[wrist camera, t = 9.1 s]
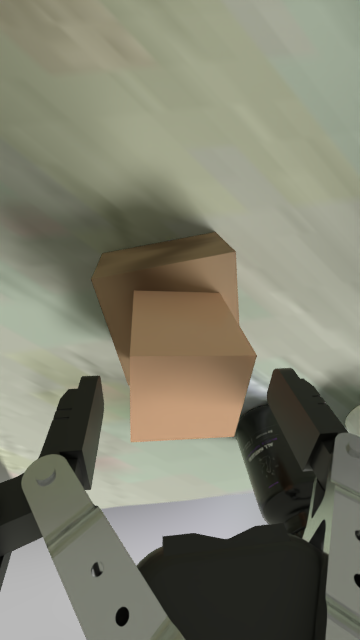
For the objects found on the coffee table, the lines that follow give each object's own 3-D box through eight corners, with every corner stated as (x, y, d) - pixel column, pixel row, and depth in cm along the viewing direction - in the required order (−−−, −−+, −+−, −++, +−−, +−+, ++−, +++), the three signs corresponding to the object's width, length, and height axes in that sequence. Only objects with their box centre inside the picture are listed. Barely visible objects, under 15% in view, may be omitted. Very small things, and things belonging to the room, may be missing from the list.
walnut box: (214, 231, 19) (235, 251, 15) (222, 325, 23) (240, 362, 19) (102, 252, 19) (90, 279, 15) (131, 343, 23) (128, 385, 19)
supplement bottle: (239, 403, 28) (296, 542, 18) (300, 400, 29) (387, 531, 19) (228, 445, 31) (270, 582, 21) (283, 441, 32) (349, 571, 22)
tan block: (219, 292, 16) (256, 355, 11) (208, 359, 18) (233, 436, 13) (133, 290, 15) (129, 356, 10) (133, 360, 18) (130, 442, 13)
